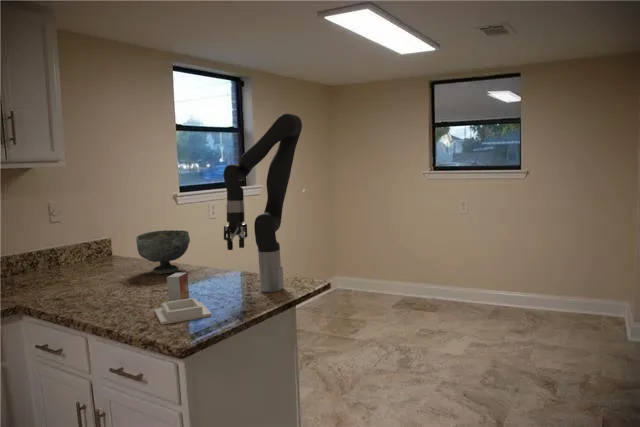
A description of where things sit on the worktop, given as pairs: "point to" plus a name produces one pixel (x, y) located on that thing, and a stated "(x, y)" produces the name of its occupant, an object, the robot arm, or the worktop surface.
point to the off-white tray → (181, 311)
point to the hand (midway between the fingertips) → (236, 248)
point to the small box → (177, 286)
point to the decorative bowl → (163, 248)
